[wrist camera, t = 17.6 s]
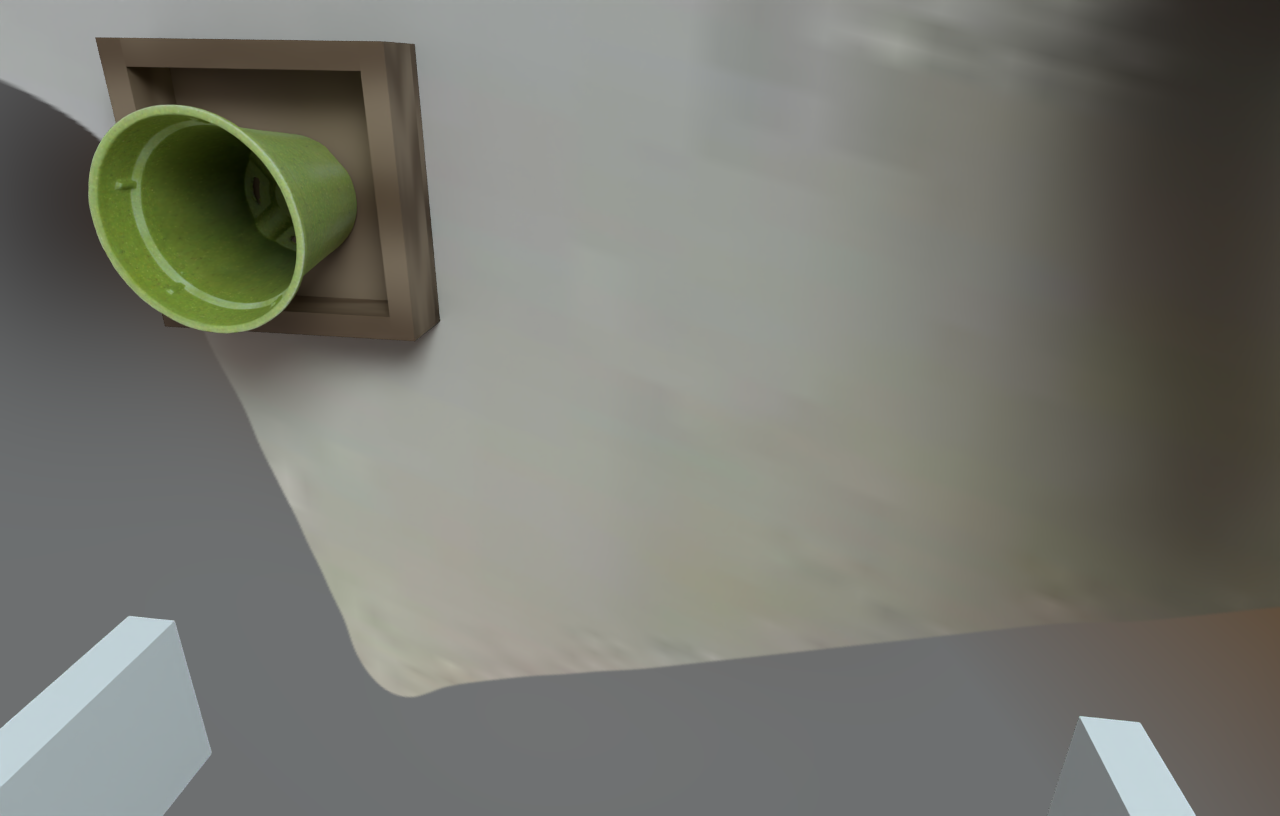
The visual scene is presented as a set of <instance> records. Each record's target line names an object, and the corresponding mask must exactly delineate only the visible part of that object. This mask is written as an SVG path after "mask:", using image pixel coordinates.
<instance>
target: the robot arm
mask: <svg viewBox="0 0 1280 816" xmlns="http://www.w3.org/2000/svg"><path fill="white" fill-rule="evenodd" d="M211 754H212V752H211V748H210V745H209V741H208V738H207V734H206V730H205V727H204V723H203V720H202V716H201V713H200V709H199V706H198V702H197V698H196V695H195V691H194V688H193V684H192V681H191V677H190V674H189V670H188V667H187V663H186V660H185V656H184V652H183V649H182V645H181V641H180V638H179V634H178V631H177V627H176V624H175V621H171V620H162V619H152V618H143V617H134V616H128V617H127V618H126V619H125V620H124V621H123V622H121V623H120V624H119V625H118V626H117V627H116V628H115V629H113V630H112V631H111V632H110V633H109V634H108V635H107V636H106V637H104V638H103V639H102V640H101V641H100V642H99V643H97V644H96V645H95V646H94V647H93V648H92V649H91V650H89V651H88V652H87V653H86V654H85V655H84V656H83V657H81V658H80V659H79V660H78V661H77V662H76V663H75V664H73V665H72V666H71V667H70V668H69V669H68V670H67V671H66V672H64V673H63V674H62V675H61V676H60V677H59V678H58V679H56V680H55V681H54V682H53V683H52V684H51V685H50V686H49V687H47V688H46V689H45V690H44V691H43V692H42V693H40V694H39V695H38V696H37V697H36V698H35V699H34V700H33V701H31V702H30V703H29V704H28V705H27V706H26V707H25V708H24V709H22V710H21V711H20V712H19V713H18V714H17V715H16V716H14V717H13V718H12V719H11V720H10V721H9V722H7V723H6V724H5V725H4V726H3V727H2V728H1V729H0V816H163V815H164V813H165V812H166V811H167V810H168V808H169V807H170V806H171V805H172V803H173V802H174V801H175V800H176V798H177V797H178V796H179V794H180V793H181V792H182V791H183V789H184V788H185V787H186V786H187V784H188V783H189V782H190V780H191V779H192V778H193V777H194V775H195V774H196V773H197V772H198V770H199V769H200V768H201V767H202V765H203V764H204V763H205V761H206V760H207V759H208V758H209V756H210V755H211ZM1047 816H1196V815H1195V814H1194V812H1193V810H1192V808H1191V807H1190V805H1189V803H1188V802H1187V800H1186V799H1185V797H1184V795H1183V794H1182V792H1181V790H1180V788H1179V787H1178V785H1177V783H1176V782H1175V780H1174V778H1173V777H1172V775H1171V773H1170V772H1169V770H1168V768H1167V767H1166V765H1165V763H1164V762H1163V760H1162V758H1161V757H1160V755H1159V753H1158V752H1157V750H1156V748H1155V747H1154V745H1153V744H1152V742H1151V740H1150V738H1149V737H1148V735H1147V733H1146V732H1145V730H1144V728H1143V727H1142V725H1141V723H1140V722H1131V721H1121V720H1112V719H1103V718H1093V717H1083V716H1079V718H1078V721H1077V724H1076V727H1075V731H1074V734H1073V737H1072V740H1071V743H1070V746H1069V749H1068V752H1067V755H1066V758H1065V761H1064V764H1063V768H1062V771H1061V774H1060V777H1059V780H1058V783H1057V786H1056V789H1055V792H1054V796H1053V798H1052V801H1051V805H1050V808H1049V811H1048V814H1047Z"/></svg>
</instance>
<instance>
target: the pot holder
mask: <svg viewBox="0 0 1280 816" xmlns="http://www.w3.org/2000/svg"><path fill="white" fill-rule="evenodd" d="M95 38H96V37H95ZM96 42H97V47H98V51H99V55H100V59H101V63H102V67H103V71H104V76H105V80H106V84H107V88H108V92H109V96H110V100H111V105H112V109H113V113H114V117H115V121H116V123H117V122H118V121H120V120H121V119H122V118H124V117H126V116H127V115H128V114H131V113H133V112H135V111H137V110H140V109H143V108H146V107H151V106H156V105H184V106H191V107H196V108H200V109H203V110H206V111H209V112H212V113H214V114H216V115H219V116H221V117H223V118H225V119H227V120H229V121H230V122H232V123H234V124H235V125H237V126H238V127H241V128H248V129H255V130H263V131H272V132H282V133H289V134H297V135H302V136H305V137H308V138H311V139H313V140H315V141H317V142H319V143H321V144H322V145H324V146H325V147H326V148H327V149H328V150H329V151H330V152H331V154H332V155H333V156H334V157H335V158H336V159H337V160H338V162H339V163H340V164H341V165H342V166H343V167H344V168H345V170H346V171H347V172H348V174H349V176H350V178H351V180H352V183H353V186H354V190H355V194H356V200H357V213H356V219H355V223H354V226H353V228H352V230H351V232H350V234H349V235H348V237H347V238H346V239H345V240H344V242H343V243H342V244H341V245H340V246H339V247H338V248H336V249H335V250H334V251H333V252H331V253H330V254H329V255H328V256H326V257H325V258H324V259H323V260H321V261H320V262H319V263H318V264H317V265H316V266H314V267H313V268H312V269H311V270H310V271H309V272H307V273H306V274H305V275H304V276H303V278H302V281H301V284H300V287H299V289H298V291H297V293H296V294H295V296H294V298H293V299H292V301H291V302H290V303H289V305H288V306H287V307H286V308H285V309H284V310H283V311H282V312H281V313H280V314H279V315H277V316H276V317H275V318H273V319H272V320H270V321H269V322H267V323H265V324H264V325H262V326H260V327H257V328H255V329H252V330H248V331H252V332H269V333H286V334H303V335H320V336H336V337H353V338H370V339H387V340H404V341H416V340H417V339H418V338H419V337H421V336H422V335H423V334H424V333H426V332H427V331H428V330H429V329H431V328H432V327H433V326H434V325H436V324H437V323H438V322H439V321H440V316H439V305H438V294H437V283H436V272H435V262H434V251H433V240H432V229H431V218H430V207H429V196H428V185H427V174H426V163H425V152H424V141H423V131H422V120H421V109H420V98H419V87H418V76H417V65H416V54H415V44H407V43H395V42H381V41H309V40H238V39H167V38H96ZM259 184H260V180H259V178H256V177H255V178H254V180H253V192H254V195H255V198H256V200H257V202H258V203H259V204H260V203H261V202H260V200H259V199H260V192H259V191H260V190H259V189H260V187H259ZM291 239H292V241H293V242H295V243H296V236H292V237H291ZM162 316H163V320H164V324H165V326H168V327H184V328H185V327H186V328H191V327H188V326H185V325H183V324H180V323H178V322H176V321H174V320H172V319H171V318H169V317H167V316H166V315H164V314H163V313H162Z"/></svg>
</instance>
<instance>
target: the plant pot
mask: <svg viewBox="0 0 1280 816" xmlns="http://www.w3.org/2000/svg"><path fill="white" fill-rule="evenodd" d="M255 177H256V178H259V180H260V184H259V187H260V189H259V190H260V191H259V192H260V199H259V200H260V202H261V203H260V204H259V203H258V202H257V200H256V198H255V195H254V192H253V180H254V178H255ZM88 195H89V205H90V210H91V215H92V218H93V222H94V226H95V229H96V232H97V235H98V238H99V240H100V242H101V244H102V246H103V249H104V250H105V252H106V253H107V256H108V258H109V259H110V261H111V262H112V264H113V266H114V267H115V269H116V271H117V272H118V273H119V275H120V276H121V277H122V278H123V280H124V281H125V282H126V283H127V284H128V286H129V287H130V288H131V289H132V290H133V291H134V292H135V293H136V294H137V295H138V296H139V297H140V298H141V299H142V300H144V301H145V302H146V303H148V304H149V305H150V306H151V307H153V308H155V309H156V310H157V311H159V312H161V313H163V314H164V315H166V316H167V317H169V318H171V319H172V320H174V321H176V322H178V323H180V324H183V325H185V326H188V327H191V328H194V329H197V330H202V331H208V332H214V333H237V332H244V331H248V330H252V329H255V328H257V327H260V326H262V325H264V324H265V323H267V322H269V321H270V320H272V319H273V318H275V317H276V316H277V315H279V314H280V313H281V312H282V311H283V310H284V309H285V308H286V307H287V306H288V305H289V303H290V302H291V301H292V299H293V298H294V296H295V294H296V293H297V291H298V289H299V287H300V284H301V281H302V278H303V276H304V275H305V274H306V273H307V272H309V271H310V270H311V269H312V268H313V267H314V266H316V265H317V264H318V263H319V262H320V261H321V260H323V259H324V258H325V257H326V256H328V255H329V254H330V253H331V252H333V251H334V250H335V249H336V248H338V247H339V246H340V245H341V244H342V243H343V242H344V240H345V239H346V238H347V237H348V235H349V234H350V232H351V230H352V228H353V226H354V223H355V219H356V213H357V200H356V194H355V190H354V186H353V183H352V180H351V178H350V176H349V174H348V172H347V171H346V170H345V168H344V167H343V166H342V165H341V164H340V163H339V162H338V160H337V159H336V158H335V157H334V156H333V155H332V154H331V152H330V151H329V150H328V149H327V148H326V147H325V146H324V145H322V144H321V143H319V142H317V141H315V140H313V139H311V138H308V137H305V136H302V135H297V134H289V133H282V132H272V131H263V130H255V129H248V128H241V127H238V126H237V125H235V124H234V123H232V122H230V121H229V120H227V119H225V118H223V117H221V116H219V115H216V114H214V113H212V112H209V111H206V110H203V109H200V108H196V107H191V106H184V105H156V106H151V107H146V108H143V109H140V110H137V111H135V112H133V113H131V114H128V115H127V116H126V117H124V118H122V119H121V120H120V121H118V122H117V123H116V124H115V125H114V126H113V127H112V128H110V130H109V131H108V132H107V133H106V135H105V136H104V137H103V139H102V140H101V142H100V144H99V146H98V148H97V150H96V152H95V154H94V157H93V160H92V164H91V168H90V175H89V193H88ZM292 236H296V243H295V242H293V241H292V239H291V237H292Z"/></svg>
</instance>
